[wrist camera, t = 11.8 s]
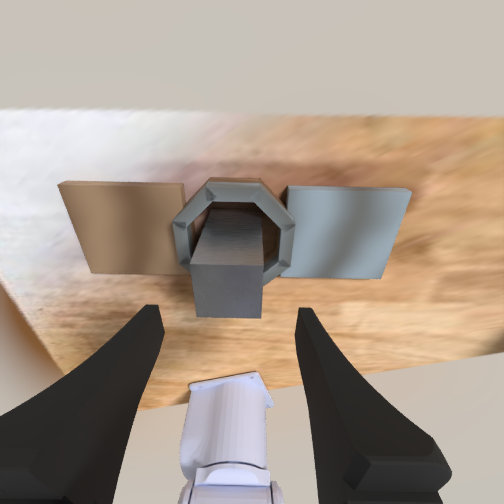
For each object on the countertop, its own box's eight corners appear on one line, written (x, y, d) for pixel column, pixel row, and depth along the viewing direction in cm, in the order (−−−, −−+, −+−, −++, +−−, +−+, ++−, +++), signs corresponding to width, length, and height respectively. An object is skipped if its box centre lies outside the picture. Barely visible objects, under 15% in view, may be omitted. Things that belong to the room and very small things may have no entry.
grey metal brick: (214, 250, 22) (196, 317, 16) (211, 208, 20) (189, 264, 14) (259, 251, 22) (261, 318, 16) (261, 209, 20) (263, 265, 14)
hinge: (99, 271, 24) (84, 287, 22) (63, 173, 19) (40, 183, 17) (374, 277, 24) (385, 293, 22) (407, 181, 19) (425, 191, 17)
